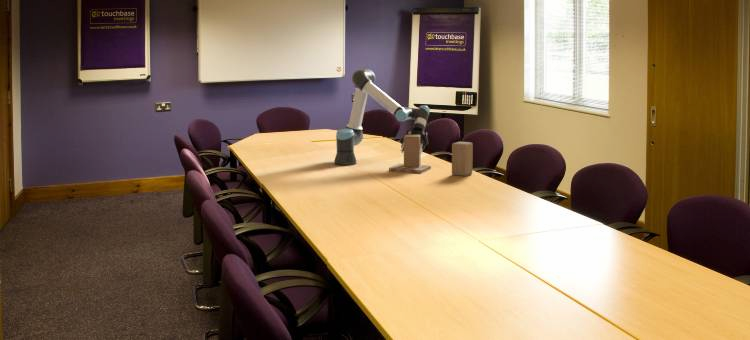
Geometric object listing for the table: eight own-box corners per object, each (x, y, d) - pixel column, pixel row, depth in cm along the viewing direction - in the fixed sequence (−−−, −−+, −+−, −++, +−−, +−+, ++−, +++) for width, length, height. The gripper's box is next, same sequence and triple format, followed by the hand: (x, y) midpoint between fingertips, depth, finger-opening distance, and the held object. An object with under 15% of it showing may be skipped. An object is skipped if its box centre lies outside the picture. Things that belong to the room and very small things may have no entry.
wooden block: (419, 167, 453) (419, 136, 449) (403, 167, 454) (403, 136, 451) (420, 164, 462) (420, 134, 459) (405, 164, 464) (405, 134, 460)
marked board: (389, 171, 452) (389, 168, 451) (399, 166, 468) (399, 163, 468) (421, 173, 443) (421, 170, 442) (430, 168, 459) (430, 165, 459)
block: (458, 172, 445) (459, 141, 441) (472, 174, 439) (473, 142, 436) (451, 175, 437) (451, 143, 433) (465, 176, 431) (465, 144, 427)
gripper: (438, 130, 463) (430, 156, 452) (403, 128, 473) (395, 154, 462) (435, 123, 458) (427, 149, 447) (400, 121, 468) (392, 147, 457)
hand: (411, 152), depth 455 cm, fingers closed on wooden block, 12 cm apart
